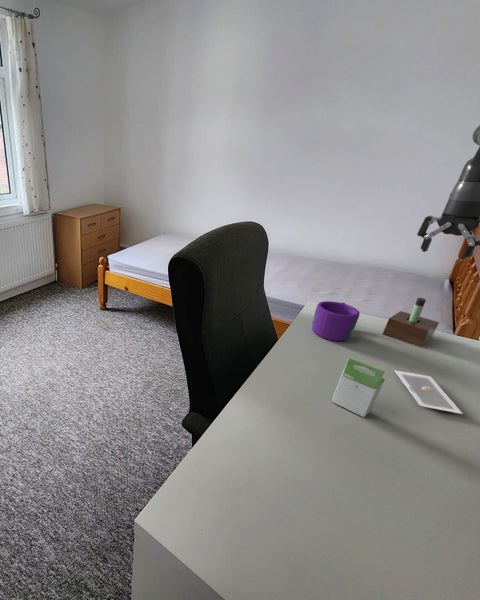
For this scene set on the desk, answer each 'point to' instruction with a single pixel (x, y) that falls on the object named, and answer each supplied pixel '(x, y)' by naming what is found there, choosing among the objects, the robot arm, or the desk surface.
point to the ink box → (358, 387)
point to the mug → (334, 320)
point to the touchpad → (427, 392)
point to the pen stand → (410, 329)
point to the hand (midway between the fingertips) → (443, 254)
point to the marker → (417, 309)
